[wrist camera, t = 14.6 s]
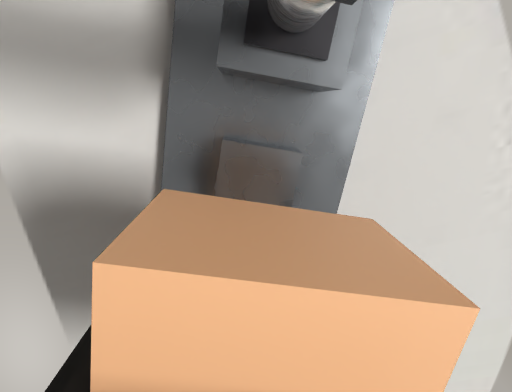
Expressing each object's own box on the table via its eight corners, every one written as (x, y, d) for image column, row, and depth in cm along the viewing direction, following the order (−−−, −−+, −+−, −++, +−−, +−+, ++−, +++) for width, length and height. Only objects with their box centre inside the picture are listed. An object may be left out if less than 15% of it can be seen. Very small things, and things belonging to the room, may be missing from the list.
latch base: (310, 296, 19) (328, 348, 15) (156, 278, 18) (132, 328, 14) (408, -70, 13) (480, -144, 9) (188, -124, 12) (162, -232, 8)
